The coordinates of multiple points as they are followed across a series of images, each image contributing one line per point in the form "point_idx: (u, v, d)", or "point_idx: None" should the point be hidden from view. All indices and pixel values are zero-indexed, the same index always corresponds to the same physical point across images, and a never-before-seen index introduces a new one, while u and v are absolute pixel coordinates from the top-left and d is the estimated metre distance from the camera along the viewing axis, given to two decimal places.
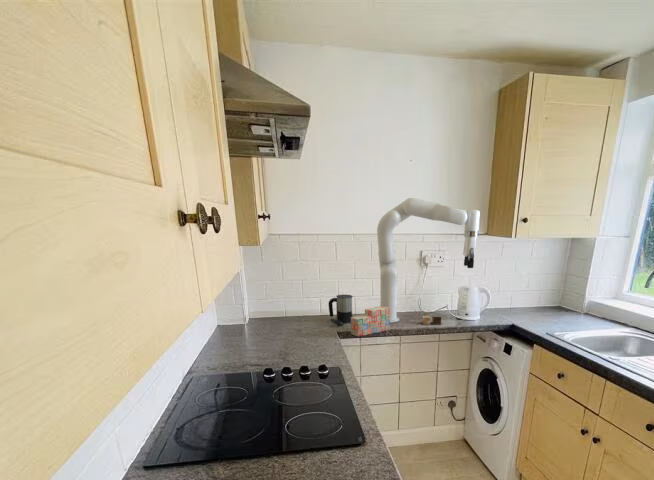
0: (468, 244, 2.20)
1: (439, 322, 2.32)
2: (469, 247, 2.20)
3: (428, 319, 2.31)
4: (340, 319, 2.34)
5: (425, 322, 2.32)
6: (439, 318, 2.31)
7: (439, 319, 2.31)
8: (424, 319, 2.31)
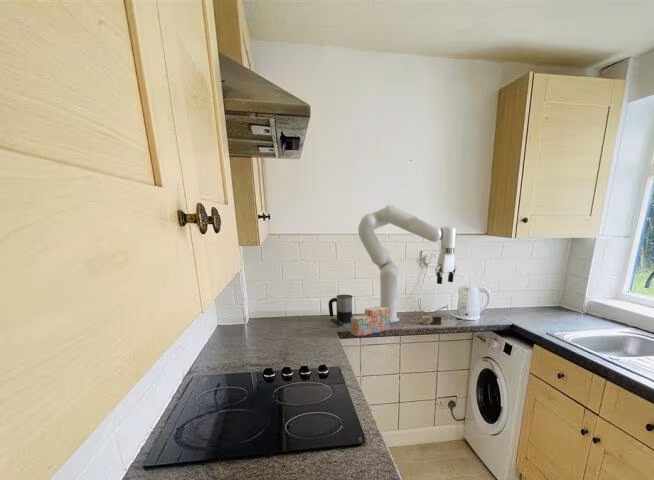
0: (438, 260, 2.22)
1: (439, 322, 2.32)
2: (438, 263, 2.22)
3: (428, 319, 2.31)
4: (340, 319, 2.34)
5: (425, 322, 2.32)
6: (439, 318, 2.31)
7: (439, 319, 2.31)
8: (424, 319, 2.31)
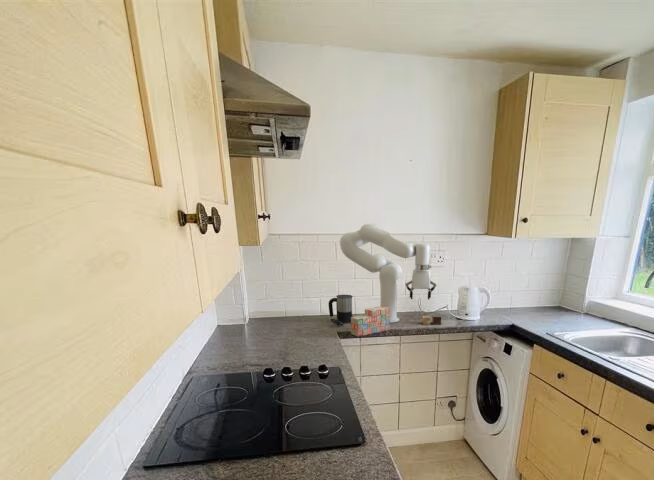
0: None
1: (439, 322, 2.32)
2: None
3: (428, 319, 2.31)
4: (340, 319, 2.34)
5: (425, 322, 2.32)
6: (439, 318, 2.31)
7: (439, 319, 2.31)
8: (424, 319, 2.31)
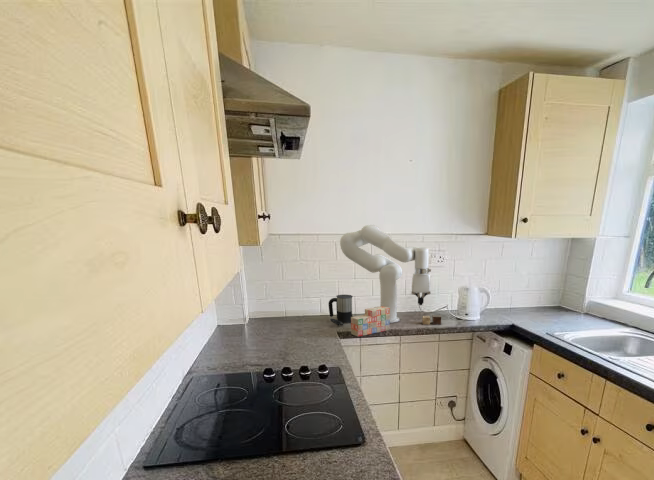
0: None
1: (439, 322, 2.32)
2: None
3: (428, 319, 2.31)
4: (340, 319, 2.34)
5: (425, 322, 2.32)
6: (439, 318, 2.31)
7: (439, 319, 2.31)
8: (424, 319, 2.31)
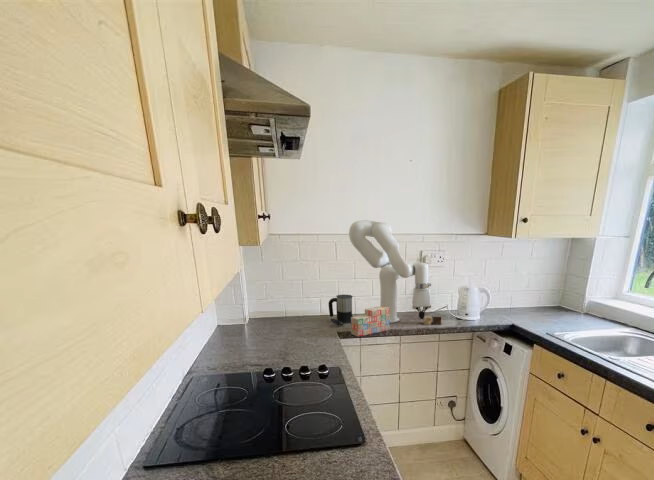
0: None
1: (439, 322, 2.32)
2: None
3: (429, 319, 2.32)
4: (340, 319, 2.34)
5: (426, 322, 2.32)
6: (439, 318, 2.31)
7: (439, 319, 2.31)
8: (425, 319, 2.32)
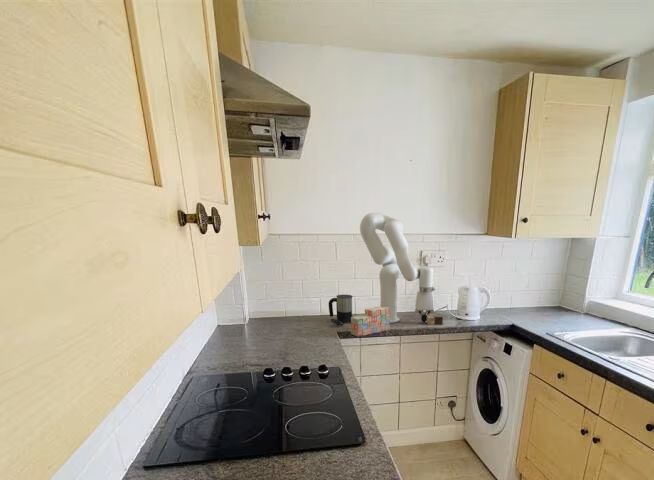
0: None
1: (441, 322, 2.32)
2: None
3: (433, 319, 2.32)
4: (340, 319, 2.34)
5: (430, 322, 2.32)
6: (441, 318, 2.31)
7: (440, 319, 2.31)
8: (429, 319, 2.32)
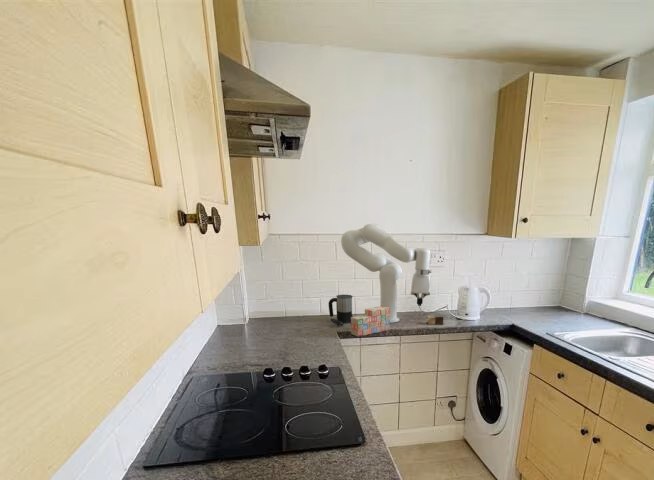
0: None
1: (441, 322, 2.32)
2: None
3: (433, 319, 2.32)
4: (340, 319, 2.34)
5: (430, 322, 2.32)
6: (441, 318, 2.31)
7: (441, 319, 2.31)
8: (429, 319, 2.32)
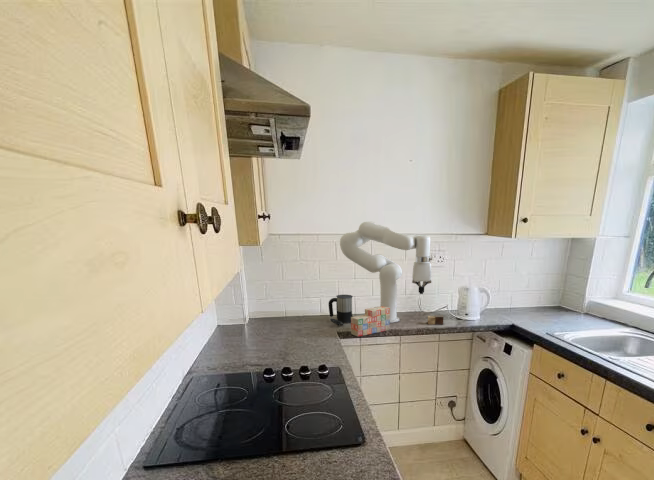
0: None
1: (441, 322, 2.32)
2: None
3: (433, 319, 2.32)
4: (340, 319, 2.34)
5: (430, 322, 2.32)
6: (441, 318, 2.31)
7: (441, 319, 2.31)
8: (429, 319, 2.32)
